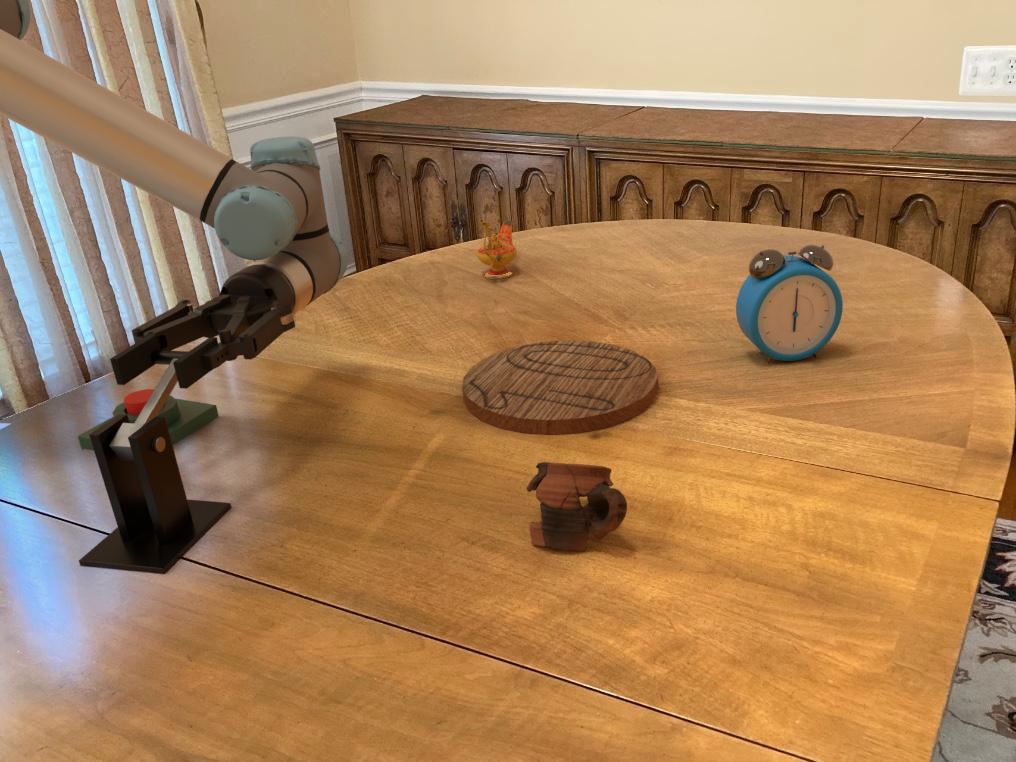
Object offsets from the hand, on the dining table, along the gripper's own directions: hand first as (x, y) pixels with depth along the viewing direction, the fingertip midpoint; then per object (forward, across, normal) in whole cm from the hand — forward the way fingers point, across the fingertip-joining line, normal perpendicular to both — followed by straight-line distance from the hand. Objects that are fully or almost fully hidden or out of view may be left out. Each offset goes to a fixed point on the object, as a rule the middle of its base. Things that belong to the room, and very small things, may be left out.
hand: (148, 373), depth 94 cm
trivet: (-35, -32, -16) cm, 50 cm away
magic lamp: (-83, -10, -16) cm, 85 cm away
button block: (-16, +15, -16) cm, 27 cm away
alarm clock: (-51, -60, -16) cm, 80 cm away
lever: (-1, 0, -4) cm, 4 cm away
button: (-16, +15, -13) cm, 25 cm away
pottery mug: (-3, -41, -16) cm, 44 cm away
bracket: (+5, 0, -16) cm, 17 cm away
